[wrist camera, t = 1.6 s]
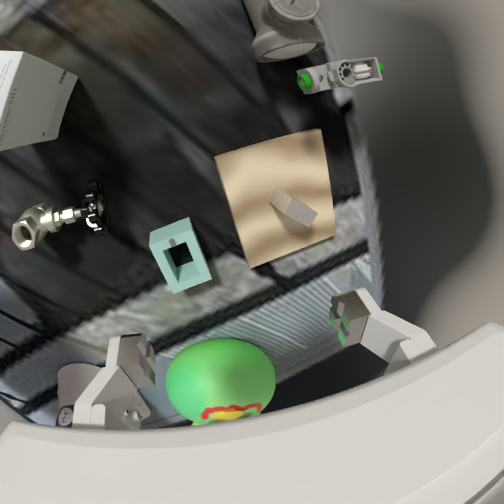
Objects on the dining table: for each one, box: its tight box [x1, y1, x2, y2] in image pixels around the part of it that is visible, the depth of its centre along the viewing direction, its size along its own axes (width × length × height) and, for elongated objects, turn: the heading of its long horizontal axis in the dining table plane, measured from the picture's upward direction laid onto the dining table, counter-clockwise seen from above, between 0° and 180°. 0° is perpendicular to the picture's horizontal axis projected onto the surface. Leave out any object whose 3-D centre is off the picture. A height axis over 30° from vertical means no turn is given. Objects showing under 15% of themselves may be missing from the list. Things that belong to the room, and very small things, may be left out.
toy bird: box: [165, 338, 276, 426], centre depth 42 cm, size 18×17×15 cm
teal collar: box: [149, 217, 212, 294], centre depth 35 cm, size 7×5×4 cm
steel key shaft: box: [269, 187, 318, 227], centre depth 34 cm, size 4×2×5 cm, turn 60°
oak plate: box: [214, 129, 336, 268], centre depth 37 cm, size 16×14×2 cm
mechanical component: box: [297, 57, 384, 94], centre depth 26 cm, size 3×10×10 cm, turn 110°
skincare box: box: [0, 51, 78, 151], centre depth 16 cm, size 8×6×15 cm
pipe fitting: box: [243, 0, 325, 63], centre depth 22 cm, size 12×8×10 cm, turn 15°
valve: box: [12, 179, 110, 251], centre depth 27 cm, size 7×7×12 cm
